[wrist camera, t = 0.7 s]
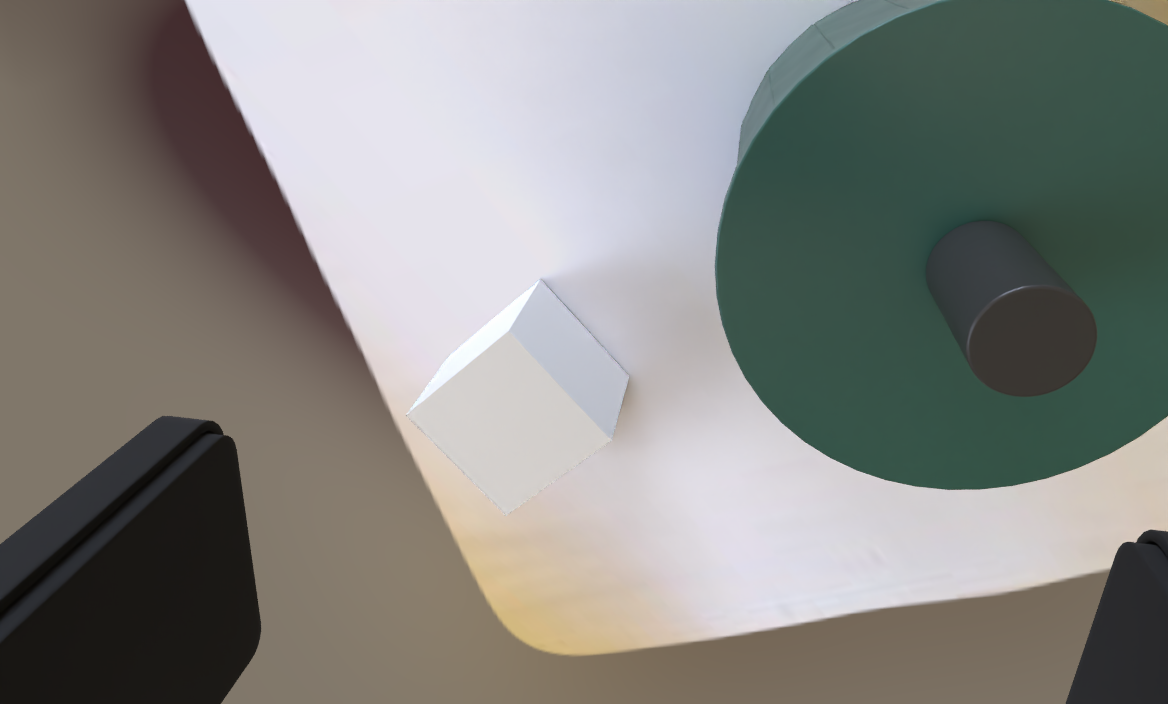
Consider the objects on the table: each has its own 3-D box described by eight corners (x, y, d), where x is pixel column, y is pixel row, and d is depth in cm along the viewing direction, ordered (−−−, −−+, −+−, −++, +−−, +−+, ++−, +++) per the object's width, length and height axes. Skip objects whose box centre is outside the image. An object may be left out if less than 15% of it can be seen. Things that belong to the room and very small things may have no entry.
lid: (1235, -95, 21) (1415, -110, 15) (1261, 421, 25) (1406, 555, 20) (660, 79, 24) (635, 119, 19) (775, 503, 29) (783, 636, 23)
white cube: (540, 278, 40) (508, 329, 35) (629, 375, 41) (612, 440, 36) (448, 356, 42) (405, 415, 37) (535, 446, 44) (505, 516, 38)
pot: (1054, -64, 32) (1224, -70, 20) (1093, 273, 36) (1251, 421, 25) (702, 45, 35) (681, 92, 24) (777, 342, 39) (789, 500, 28)
